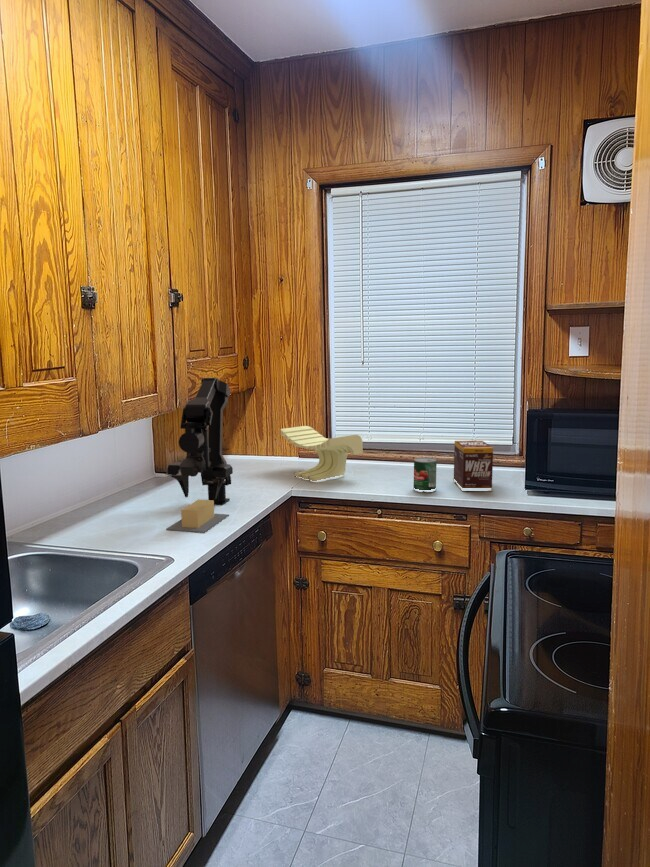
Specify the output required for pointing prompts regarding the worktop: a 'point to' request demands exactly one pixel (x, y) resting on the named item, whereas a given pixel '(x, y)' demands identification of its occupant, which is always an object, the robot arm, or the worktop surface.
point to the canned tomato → (425, 473)
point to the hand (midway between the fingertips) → (200, 497)
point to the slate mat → (202, 528)
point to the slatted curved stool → (324, 451)
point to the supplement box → (473, 464)
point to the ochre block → (197, 513)
